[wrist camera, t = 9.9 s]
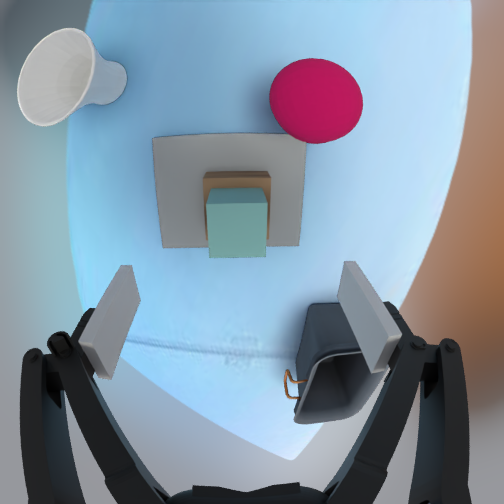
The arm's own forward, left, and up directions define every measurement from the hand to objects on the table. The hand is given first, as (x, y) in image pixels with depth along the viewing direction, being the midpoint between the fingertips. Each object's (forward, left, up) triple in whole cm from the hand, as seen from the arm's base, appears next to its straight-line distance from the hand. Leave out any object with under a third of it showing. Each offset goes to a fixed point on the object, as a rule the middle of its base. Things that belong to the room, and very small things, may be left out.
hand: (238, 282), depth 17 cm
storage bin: (+29, +15, -23) cm, 40 cm away
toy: (-11, +7, -23) cm, 27 cm away
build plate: (+1, -1, -23) cm, 23 cm away
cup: (-16, -18, -23) cm, 34 cm away
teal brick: (+2, 0, -18) cm, 18 cm away
